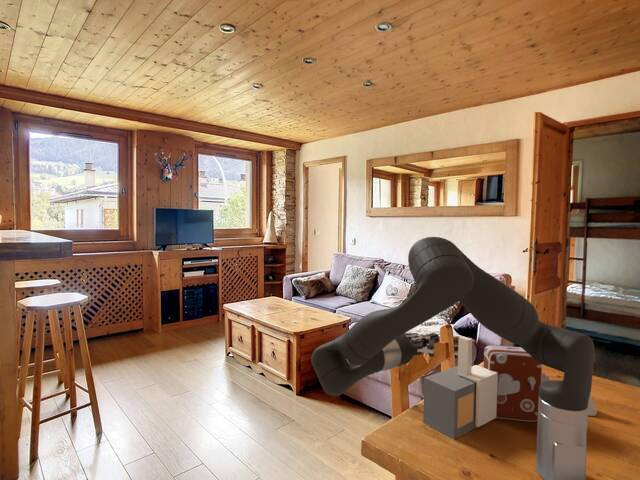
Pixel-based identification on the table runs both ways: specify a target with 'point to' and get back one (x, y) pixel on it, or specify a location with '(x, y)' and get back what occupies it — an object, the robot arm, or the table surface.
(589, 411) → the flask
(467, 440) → the table surface
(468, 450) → the table surface
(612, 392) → the table surface
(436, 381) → the camera housing
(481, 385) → the grooved cream block
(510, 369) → the brown boxy piece
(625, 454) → the table surface
